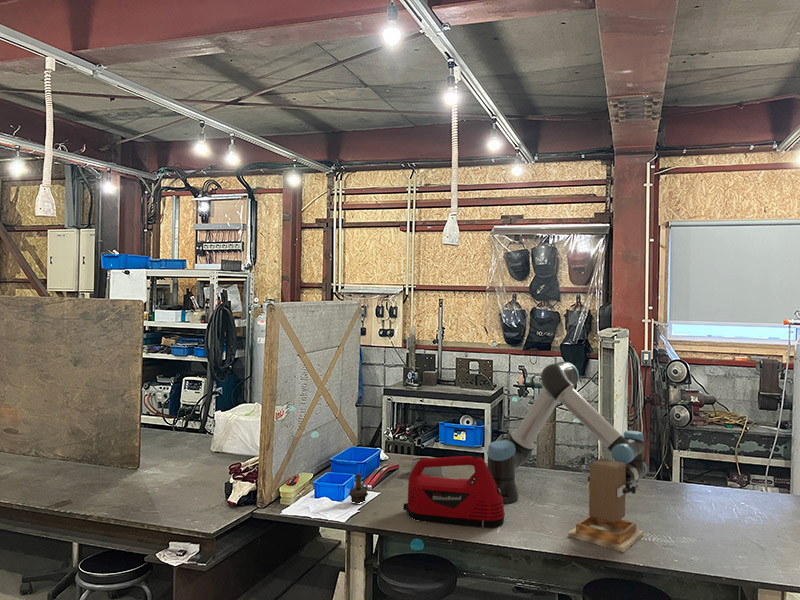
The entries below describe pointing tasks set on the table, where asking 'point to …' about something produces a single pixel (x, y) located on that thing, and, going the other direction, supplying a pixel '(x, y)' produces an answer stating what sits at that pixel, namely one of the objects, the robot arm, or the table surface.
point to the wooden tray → (607, 533)
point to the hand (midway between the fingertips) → (602, 489)
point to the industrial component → (358, 491)
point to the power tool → (455, 495)
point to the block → (606, 490)
